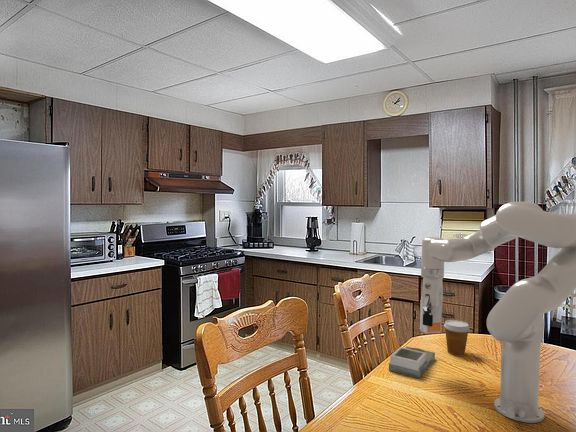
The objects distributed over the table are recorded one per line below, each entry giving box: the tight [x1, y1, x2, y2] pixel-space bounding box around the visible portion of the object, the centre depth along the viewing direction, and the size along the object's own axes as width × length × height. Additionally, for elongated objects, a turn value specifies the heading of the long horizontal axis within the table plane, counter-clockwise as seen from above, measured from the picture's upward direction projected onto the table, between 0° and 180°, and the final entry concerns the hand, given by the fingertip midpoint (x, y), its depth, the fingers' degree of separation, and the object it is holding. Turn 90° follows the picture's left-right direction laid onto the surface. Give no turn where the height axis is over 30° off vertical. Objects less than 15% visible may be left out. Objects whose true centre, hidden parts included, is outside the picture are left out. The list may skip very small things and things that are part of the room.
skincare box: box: [419, 296, 443, 335], centre depth 138 cm, size 6×4×12 cm
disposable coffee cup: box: [443, 319, 470, 357], centre depth 157 cm, size 10×10×12 cm
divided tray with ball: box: [388, 346, 436, 379], centre depth 146 cm, size 20×11×6 cm, turn 146°
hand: (430, 322), depth 138 cm, fingers closed on skincare box, 7 cm apart
